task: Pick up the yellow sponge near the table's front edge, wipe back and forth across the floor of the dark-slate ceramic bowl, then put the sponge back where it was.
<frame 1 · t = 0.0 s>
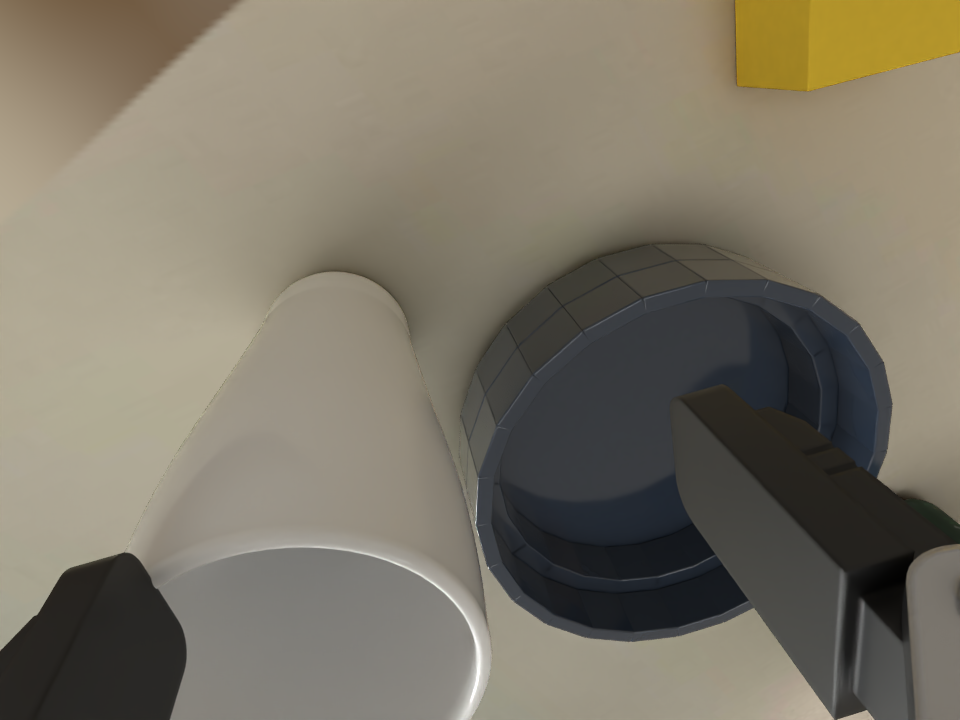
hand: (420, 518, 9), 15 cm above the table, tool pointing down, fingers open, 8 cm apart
coffee jar: (879, 558, 35), on the table
drinking glass: (338, 331, 24), on the table, touching gripper
bowl: (637, 418, 28), on the table
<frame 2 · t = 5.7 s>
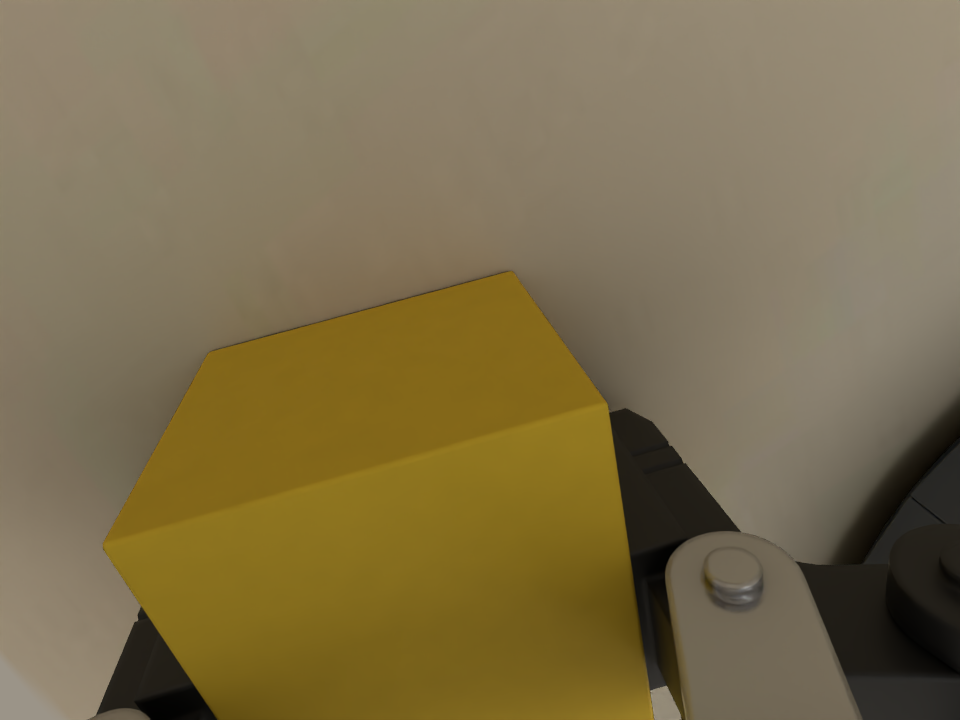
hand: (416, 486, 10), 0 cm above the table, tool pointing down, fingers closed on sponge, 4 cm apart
sponge: (416, 474, 10), on the table, touching gripper
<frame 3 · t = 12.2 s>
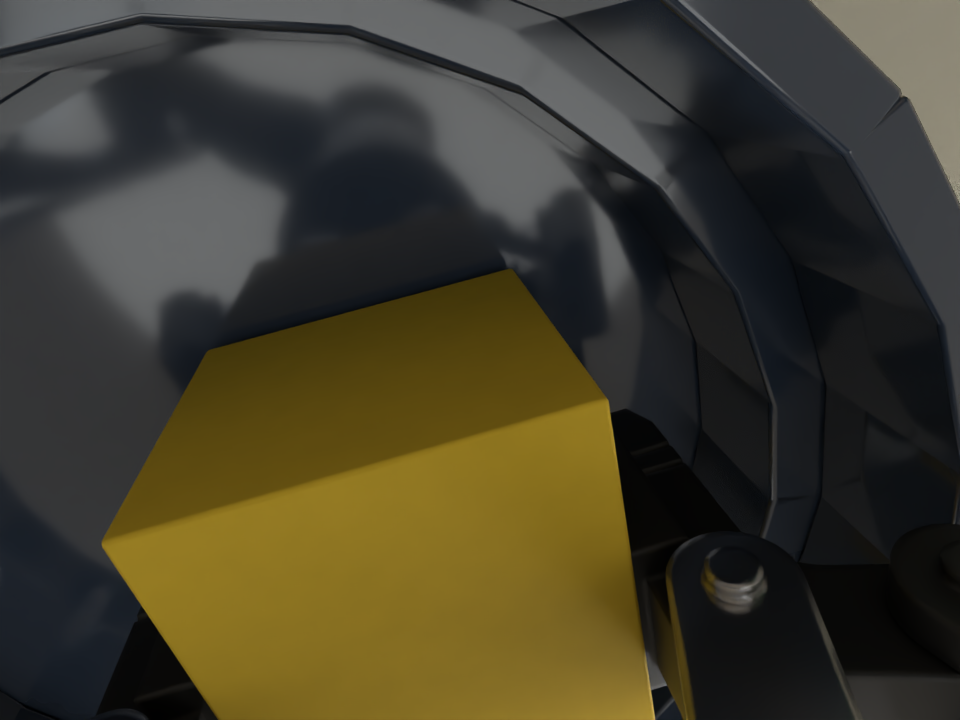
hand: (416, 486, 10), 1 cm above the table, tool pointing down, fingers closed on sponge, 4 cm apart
bowl: (318, 473, 11), on the table
sponge: (416, 472, 10), point 1 cm above the table, touching gripper
when the fingers open (0 cm above the table, at t = 18.7 s): sponge stays where it is, on the table.
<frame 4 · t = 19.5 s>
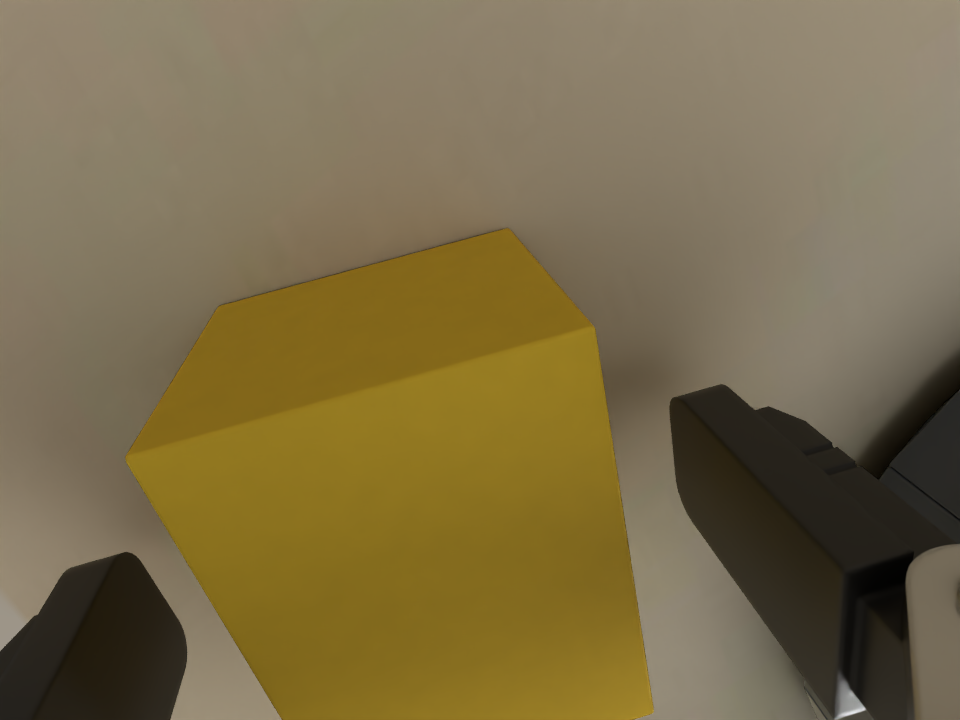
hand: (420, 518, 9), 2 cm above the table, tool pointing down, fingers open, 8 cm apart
sponge: (418, 429, 11), on the table
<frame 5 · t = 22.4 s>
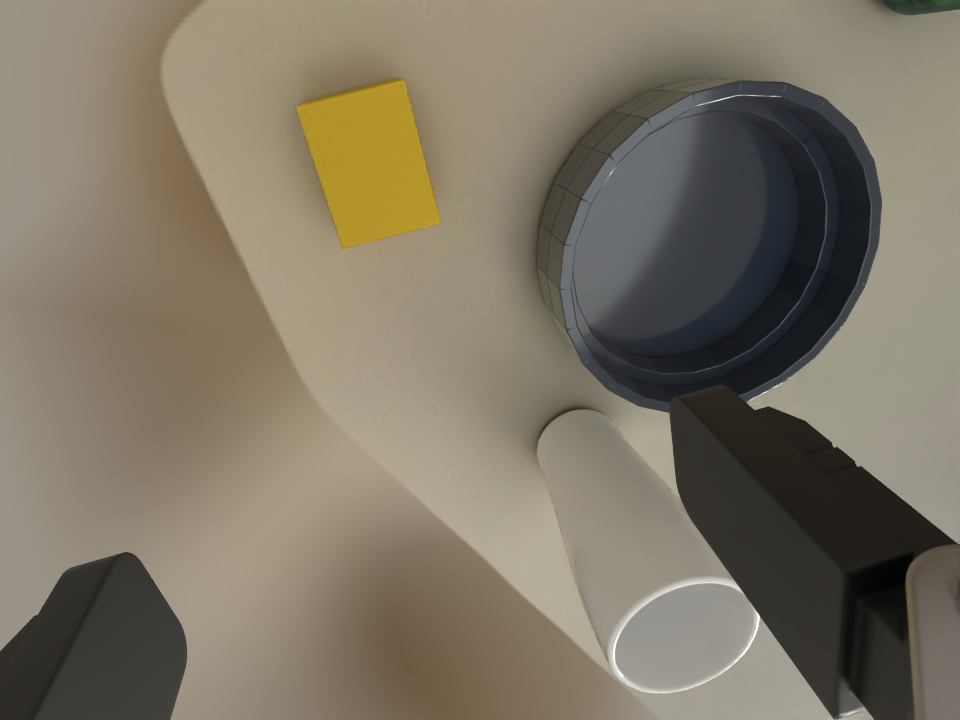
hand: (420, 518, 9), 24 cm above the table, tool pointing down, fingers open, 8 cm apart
drinking glass: (574, 440, 39), on the table
bowl: (677, 240, 34), on the table
sponge: (371, 156, 30), on the table
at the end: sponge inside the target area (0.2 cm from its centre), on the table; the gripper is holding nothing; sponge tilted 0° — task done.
